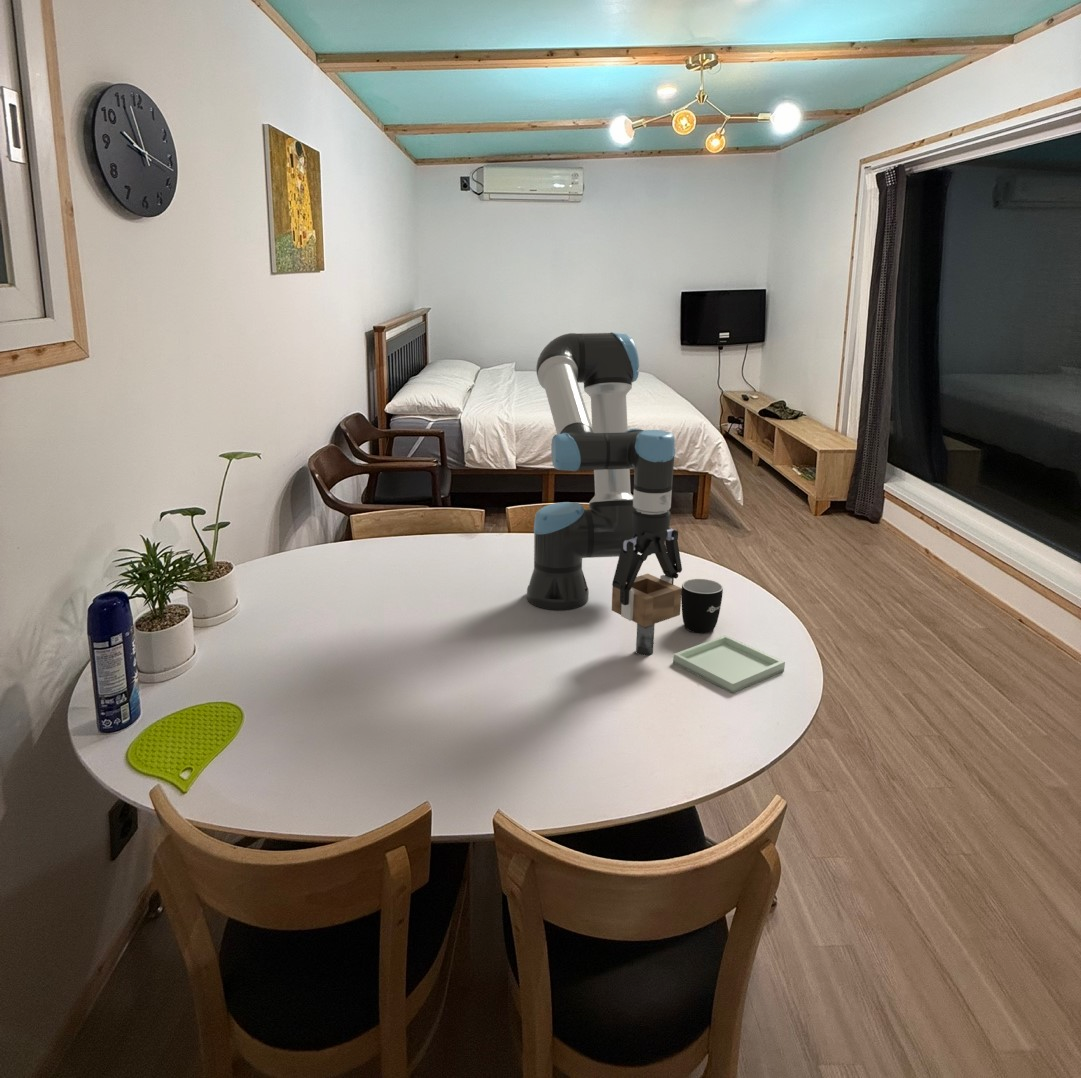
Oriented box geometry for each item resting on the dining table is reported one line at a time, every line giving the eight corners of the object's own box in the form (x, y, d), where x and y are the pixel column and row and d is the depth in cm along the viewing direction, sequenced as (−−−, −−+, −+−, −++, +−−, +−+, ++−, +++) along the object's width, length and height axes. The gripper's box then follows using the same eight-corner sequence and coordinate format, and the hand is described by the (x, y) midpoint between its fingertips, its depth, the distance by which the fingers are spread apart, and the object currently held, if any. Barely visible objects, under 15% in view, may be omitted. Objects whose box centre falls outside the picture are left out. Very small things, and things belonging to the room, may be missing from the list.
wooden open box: (611, 610, 168) (612, 583, 166) (646, 599, 173) (647, 573, 171) (644, 627, 160) (646, 599, 158) (679, 615, 166) (681, 588, 164)
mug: (706, 639, 175) (709, 596, 172) (671, 628, 180) (674, 586, 177) (733, 623, 183) (737, 581, 180) (699, 612, 189) (702, 572, 186)
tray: (673, 662, 164) (673, 654, 164) (724, 643, 173) (725, 635, 172) (732, 693, 152) (732, 684, 152) (784, 670, 161) (785, 661, 160)
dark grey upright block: (631, 650, 169) (633, 611, 167) (644, 646, 172) (646, 607, 169) (644, 657, 166) (646, 617, 164) (657, 652, 168) (659, 613, 166)
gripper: (621, 524, 150) (617, 631, 157) (705, 504, 163) (697, 604, 170) (596, 514, 156) (592, 618, 163) (678, 496, 168) (671, 593, 176)
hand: (646, 611), depth 166 cm, fingers closed on wooden open box, 10 cm apart
